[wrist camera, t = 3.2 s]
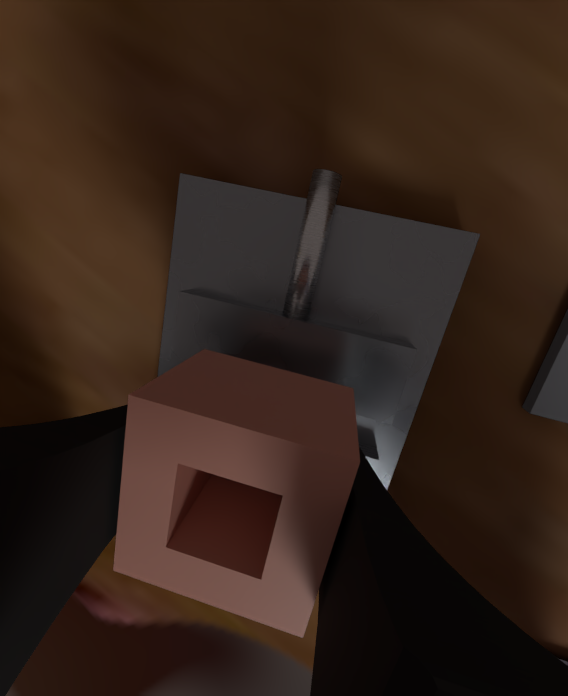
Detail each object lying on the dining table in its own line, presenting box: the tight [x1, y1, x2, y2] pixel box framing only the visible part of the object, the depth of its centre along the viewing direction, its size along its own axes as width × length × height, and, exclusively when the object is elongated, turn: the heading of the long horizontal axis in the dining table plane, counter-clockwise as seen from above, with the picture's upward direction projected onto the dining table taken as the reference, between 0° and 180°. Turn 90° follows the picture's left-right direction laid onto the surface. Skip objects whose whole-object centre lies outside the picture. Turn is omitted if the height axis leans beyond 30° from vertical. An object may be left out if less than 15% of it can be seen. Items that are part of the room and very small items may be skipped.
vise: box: [158, 169, 480, 490], centre depth 13 cm, size 17×11×6 cm, turn 168°
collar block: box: [113, 349, 360, 638], centre depth 9 cm, size 5×5×4 cm
